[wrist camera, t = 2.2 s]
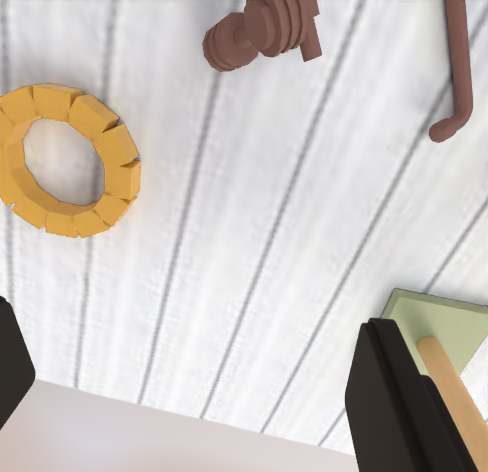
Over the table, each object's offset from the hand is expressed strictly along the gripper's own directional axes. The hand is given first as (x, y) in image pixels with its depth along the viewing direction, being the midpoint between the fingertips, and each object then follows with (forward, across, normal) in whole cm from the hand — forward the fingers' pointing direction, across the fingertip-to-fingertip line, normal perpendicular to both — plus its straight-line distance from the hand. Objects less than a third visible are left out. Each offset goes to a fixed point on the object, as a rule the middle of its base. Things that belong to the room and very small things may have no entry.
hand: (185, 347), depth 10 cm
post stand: (+19, -18, +16) cm, 31 cm away
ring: (+19, +13, +1) cm, 23 cm away
